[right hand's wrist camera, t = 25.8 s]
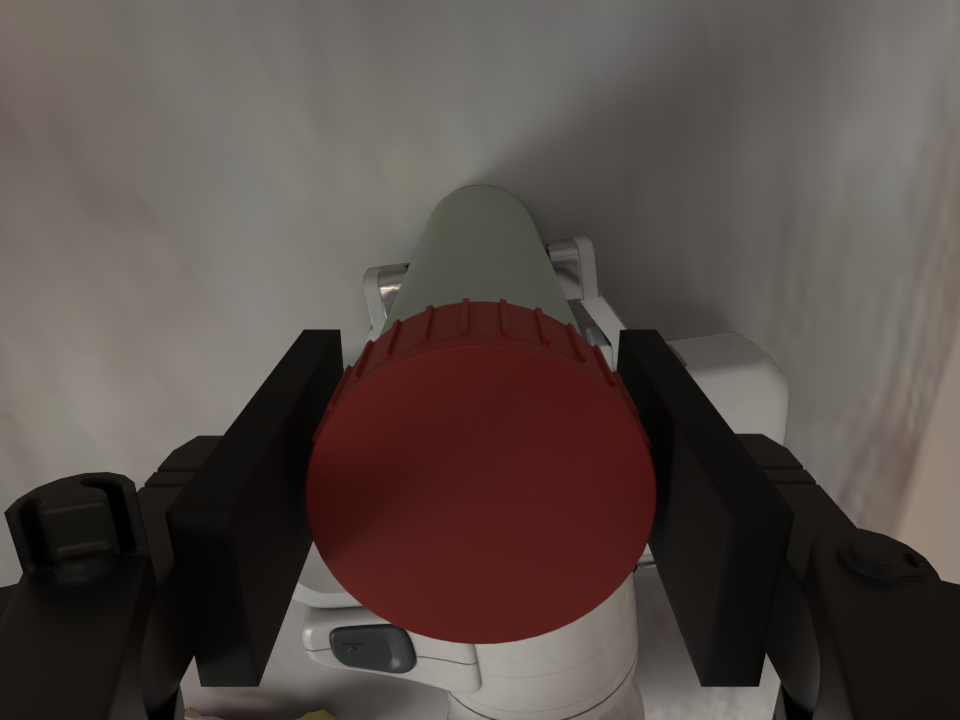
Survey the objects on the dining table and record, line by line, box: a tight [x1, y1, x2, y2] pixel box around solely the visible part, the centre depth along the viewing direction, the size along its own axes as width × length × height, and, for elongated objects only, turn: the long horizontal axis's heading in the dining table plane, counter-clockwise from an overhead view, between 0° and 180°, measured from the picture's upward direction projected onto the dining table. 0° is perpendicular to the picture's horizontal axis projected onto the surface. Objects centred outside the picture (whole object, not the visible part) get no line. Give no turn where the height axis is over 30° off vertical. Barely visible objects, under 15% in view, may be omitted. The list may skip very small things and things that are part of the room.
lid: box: [305, 298, 657, 644], centre depth 11 cm, size 6×6×2 cm
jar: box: [379, 185, 582, 337], centre depth 20 cm, size 5×5×19 cm
